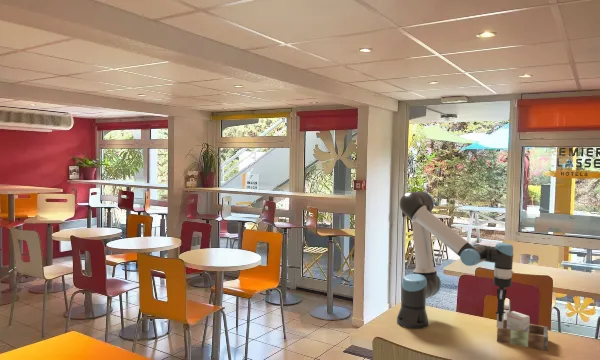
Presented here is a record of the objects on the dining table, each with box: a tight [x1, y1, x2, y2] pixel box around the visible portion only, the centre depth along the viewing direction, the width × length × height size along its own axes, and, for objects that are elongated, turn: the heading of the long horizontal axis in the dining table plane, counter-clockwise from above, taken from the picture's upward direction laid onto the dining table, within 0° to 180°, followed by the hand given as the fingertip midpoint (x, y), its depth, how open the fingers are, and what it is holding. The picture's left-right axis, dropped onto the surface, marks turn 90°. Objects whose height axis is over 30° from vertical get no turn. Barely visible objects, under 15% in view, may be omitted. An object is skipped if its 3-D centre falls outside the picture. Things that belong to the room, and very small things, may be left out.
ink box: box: [506, 310, 531, 333], centre depth 210 cm, size 9×5×12 cm, turn 30°
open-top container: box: [496, 318, 549, 352], centre depth 209 cm, size 20×15×6 cm
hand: (499, 327), depth 214 cm, fingers closed
